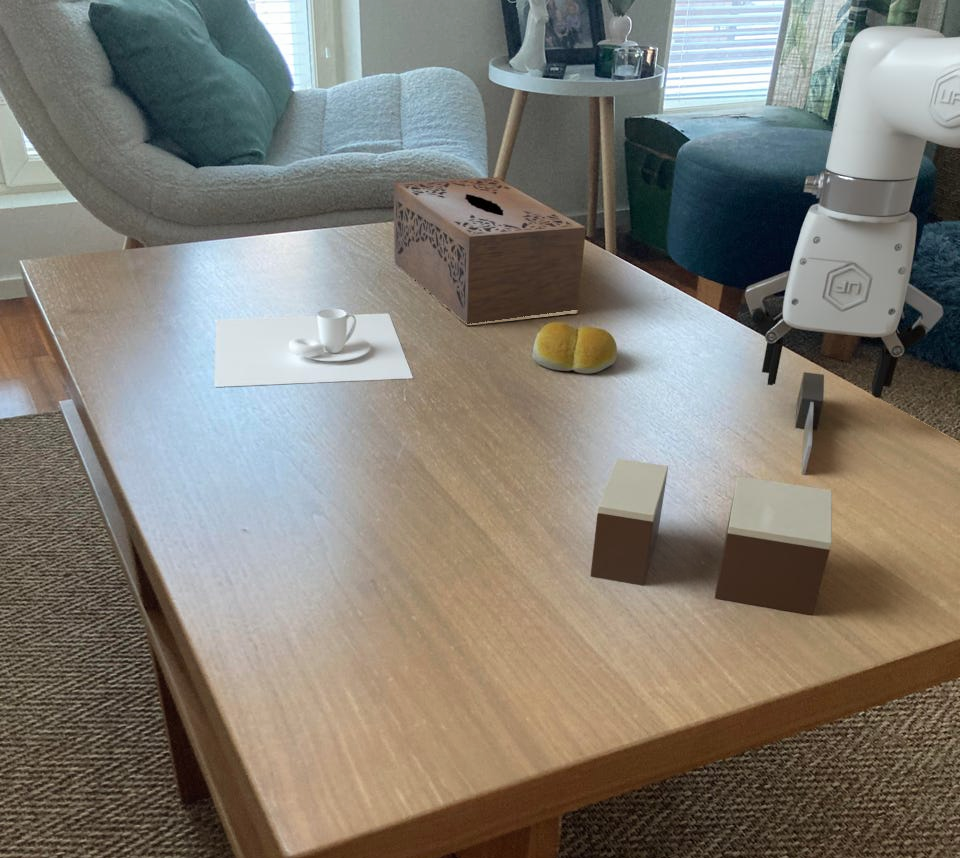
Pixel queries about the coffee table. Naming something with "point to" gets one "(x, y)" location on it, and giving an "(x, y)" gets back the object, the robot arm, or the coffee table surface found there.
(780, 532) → the cake
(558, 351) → the bread roll
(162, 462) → the coffee table surface
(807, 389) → the knife
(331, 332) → the teacup and saucer
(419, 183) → the tissue box cover
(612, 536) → the cake slice
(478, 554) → the coffee table surface
